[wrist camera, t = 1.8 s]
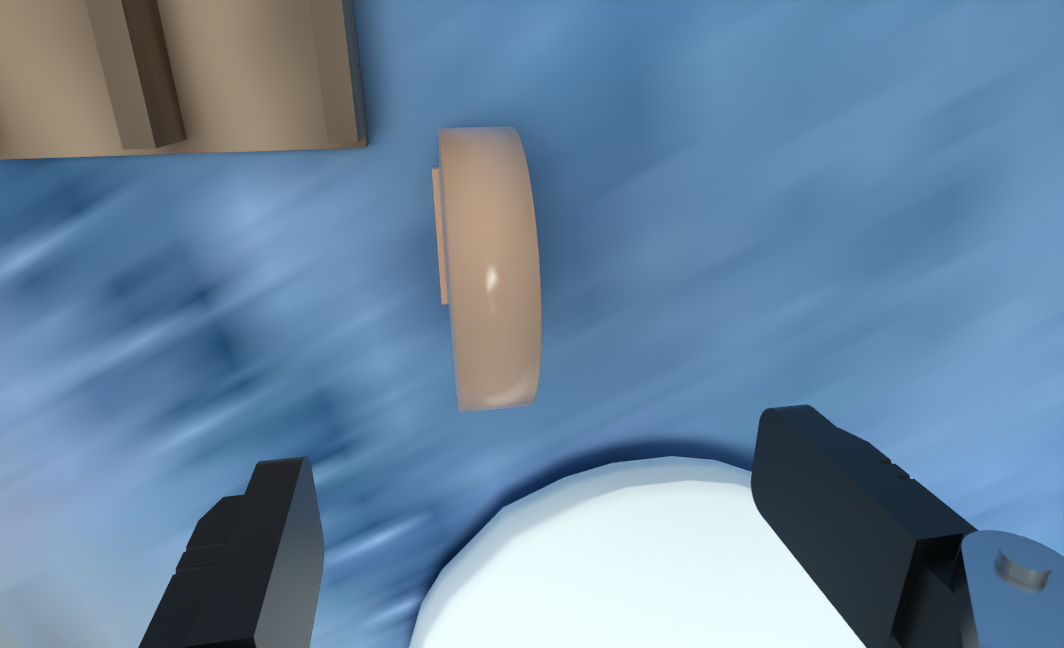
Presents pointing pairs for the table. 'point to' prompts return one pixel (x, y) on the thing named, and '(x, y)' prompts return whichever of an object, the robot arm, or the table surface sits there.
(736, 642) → the plate
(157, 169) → the table surface
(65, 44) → the dish rack
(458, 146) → the saucer
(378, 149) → the table surface
